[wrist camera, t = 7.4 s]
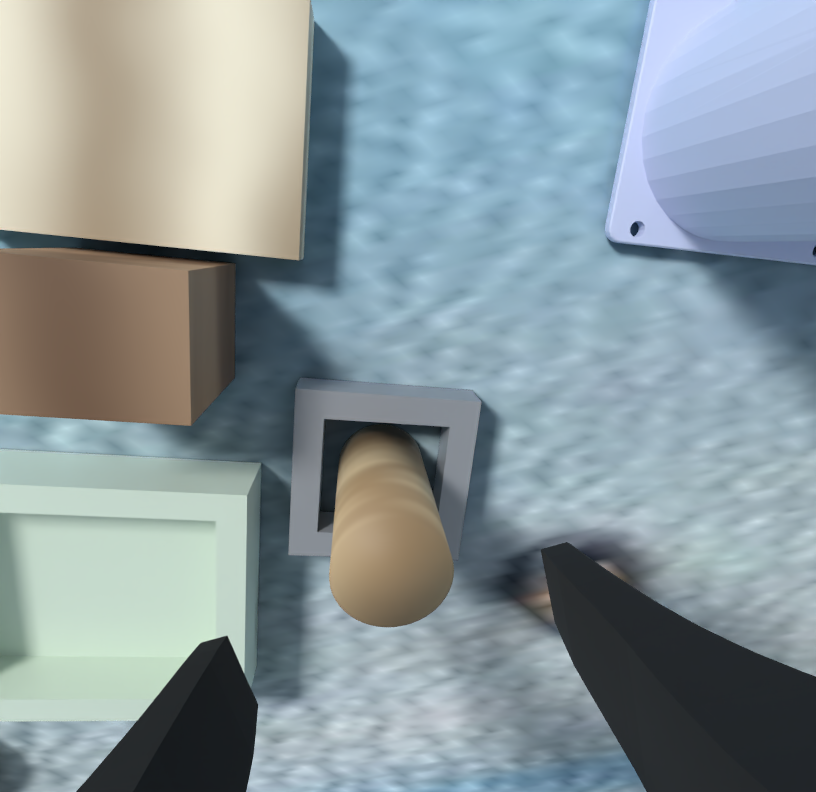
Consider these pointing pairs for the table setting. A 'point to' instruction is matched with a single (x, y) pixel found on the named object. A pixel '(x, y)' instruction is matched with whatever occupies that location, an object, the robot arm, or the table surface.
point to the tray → (120, 577)
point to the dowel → (387, 532)
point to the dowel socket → (385, 406)
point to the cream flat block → (157, 122)
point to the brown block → (114, 334)
